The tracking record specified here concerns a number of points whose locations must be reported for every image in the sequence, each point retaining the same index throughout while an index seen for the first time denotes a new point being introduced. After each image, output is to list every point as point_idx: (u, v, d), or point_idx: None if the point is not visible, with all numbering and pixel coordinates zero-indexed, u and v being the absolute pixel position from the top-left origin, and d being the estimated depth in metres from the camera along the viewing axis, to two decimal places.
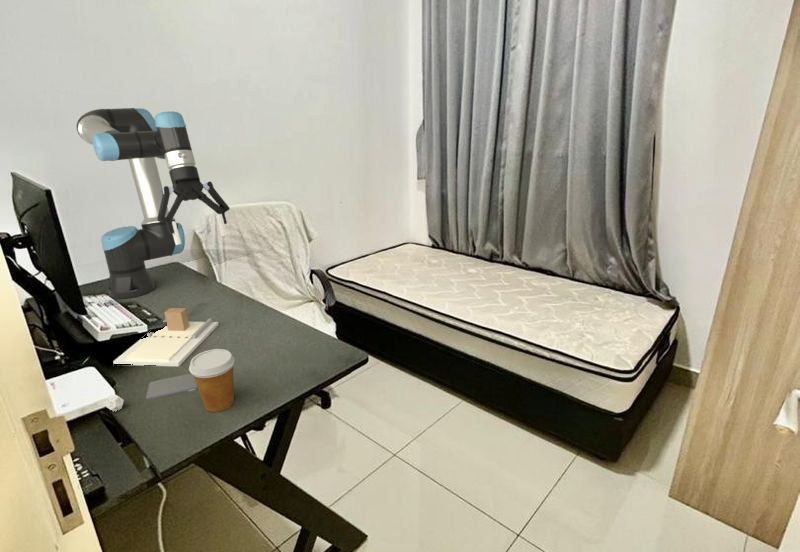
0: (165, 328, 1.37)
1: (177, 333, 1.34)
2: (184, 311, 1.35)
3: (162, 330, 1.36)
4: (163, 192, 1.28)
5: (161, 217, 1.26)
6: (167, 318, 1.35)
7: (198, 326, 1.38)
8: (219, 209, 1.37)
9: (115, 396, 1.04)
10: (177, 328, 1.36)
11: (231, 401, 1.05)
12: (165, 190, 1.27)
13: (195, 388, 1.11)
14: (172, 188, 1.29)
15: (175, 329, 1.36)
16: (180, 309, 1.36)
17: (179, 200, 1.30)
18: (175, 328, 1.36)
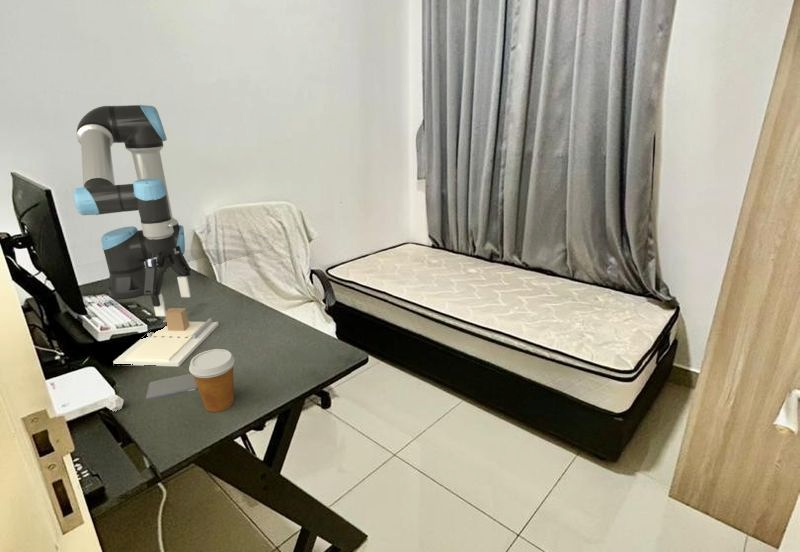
0: (165, 328, 1.37)
1: (177, 333, 1.34)
2: (184, 311, 1.35)
3: (162, 330, 1.36)
4: (149, 265, 1.23)
5: (153, 292, 1.22)
6: (167, 318, 1.35)
7: (198, 326, 1.38)
8: (185, 272, 1.38)
9: (115, 396, 1.04)
10: (177, 328, 1.36)
11: (231, 401, 1.05)
12: (154, 263, 1.23)
13: (195, 388, 1.11)
14: (156, 259, 1.25)
15: (175, 329, 1.36)
16: (180, 309, 1.36)
17: (163, 271, 1.26)
18: (175, 328, 1.36)
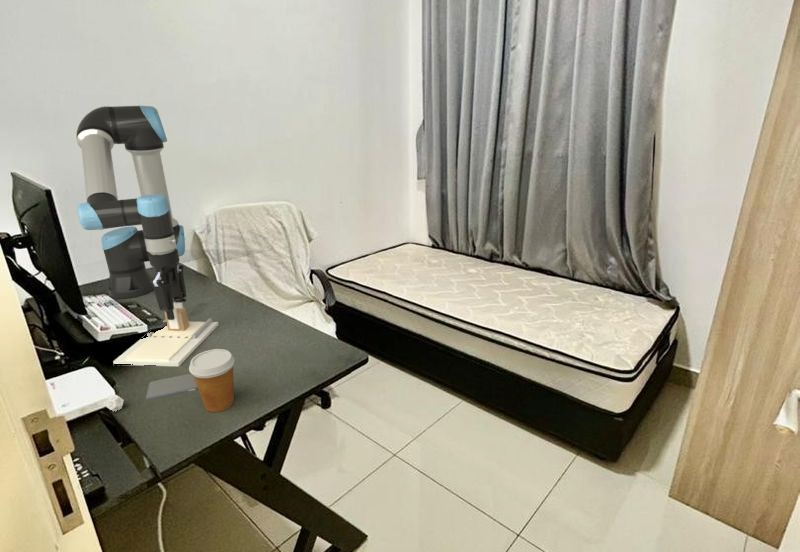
0: (165, 328, 1.37)
1: (177, 333, 1.34)
2: (184, 311, 1.35)
3: (162, 330, 1.36)
4: (156, 285, 1.26)
5: (168, 308, 1.29)
6: None
7: (198, 326, 1.38)
8: (181, 297, 1.36)
9: (115, 396, 1.04)
10: None
11: (231, 401, 1.05)
12: (160, 284, 1.26)
13: (195, 388, 1.11)
14: (160, 277, 1.27)
15: (175, 329, 1.36)
16: (180, 309, 1.36)
17: (170, 286, 1.30)
18: None
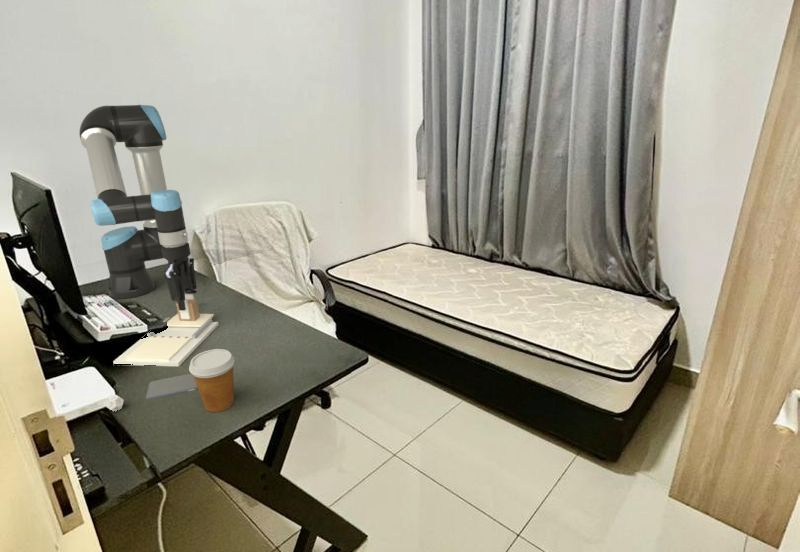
0: (176, 318, 1.43)
1: (188, 323, 1.40)
2: (195, 302, 1.41)
3: (174, 320, 1.42)
4: (168, 277, 1.32)
5: (180, 298, 1.35)
6: (178, 309, 1.41)
7: (208, 317, 1.44)
8: (192, 288, 1.42)
9: (115, 396, 1.04)
10: (188, 319, 1.42)
11: (231, 401, 1.05)
12: (172, 276, 1.32)
13: (195, 388, 1.11)
14: (172, 269, 1.33)
15: (186, 319, 1.42)
16: (191, 300, 1.42)
17: (182, 278, 1.36)
18: None
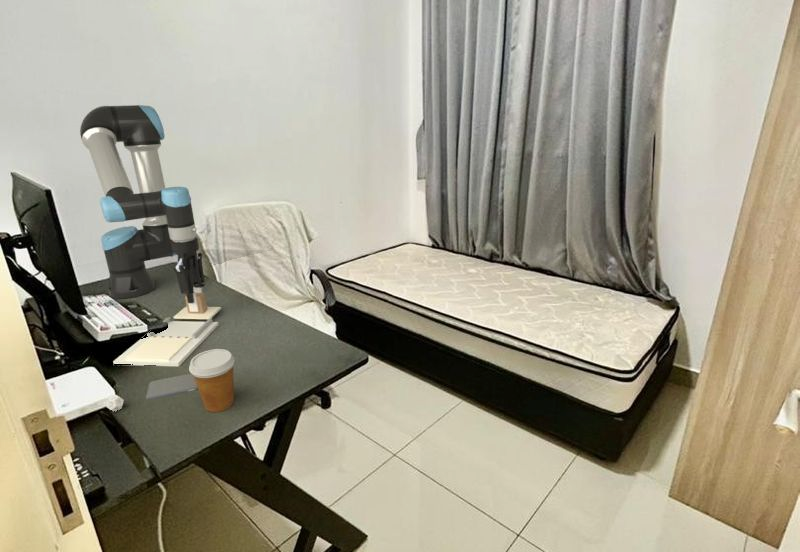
0: (185, 311, 1.48)
1: (196, 315, 1.45)
2: (203, 295, 1.46)
3: (182, 313, 1.47)
4: (178, 270, 1.37)
5: (189, 291, 1.40)
6: (187, 302, 1.45)
7: (215, 309, 1.49)
8: (200, 282, 1.47)
9: (115, 396, 1.04)
10: None
11: (231, 401, 1.05)
12: (182, 269, 1.37)
13: (195, 388, 1.11)
14: (182, 263, 1.38)
15: (194, 312, 1.47)
16: (199, 293, 1.47)
17: (191, 272, 1.41)
18: None
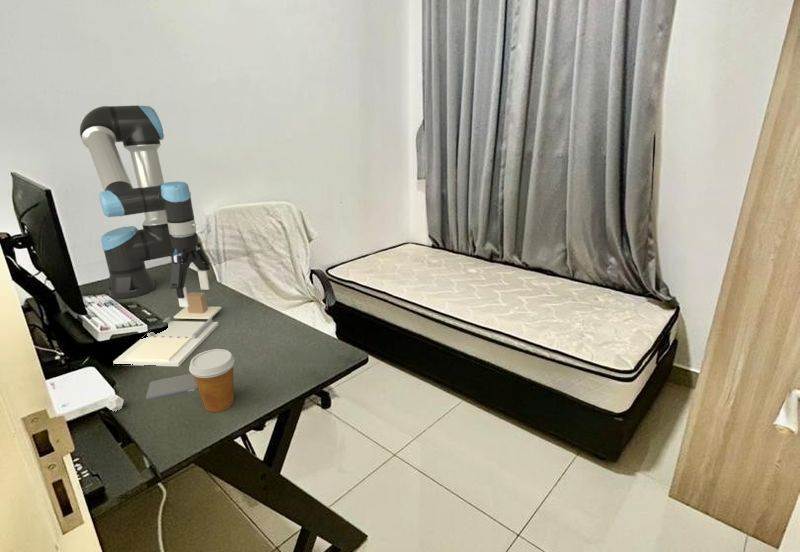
0: (185, 311, 1.48)
1: (197, 315, 1.45)
2: (203, 295, 1.47)
3: (183, 313, 1.47)
4: (175, 261, 1.35)
5: (179, 286, 1.35)
6: None
7: (216, 309, 1.49)
8: (205, 267, 1.50)
9: (115, 396, 1.04)
10: (197, 311, 1.47)
11: (231, 401, 1.05)
12: (179, 259, 1.35)
13: (195, 388, 1.11)
14: (181, 255, 1.37)
15: (195, 312, 1.47)
16: (199, 293, 1.47)
17: (187, 266, 1.39)
18: (195, 311, 1.47)
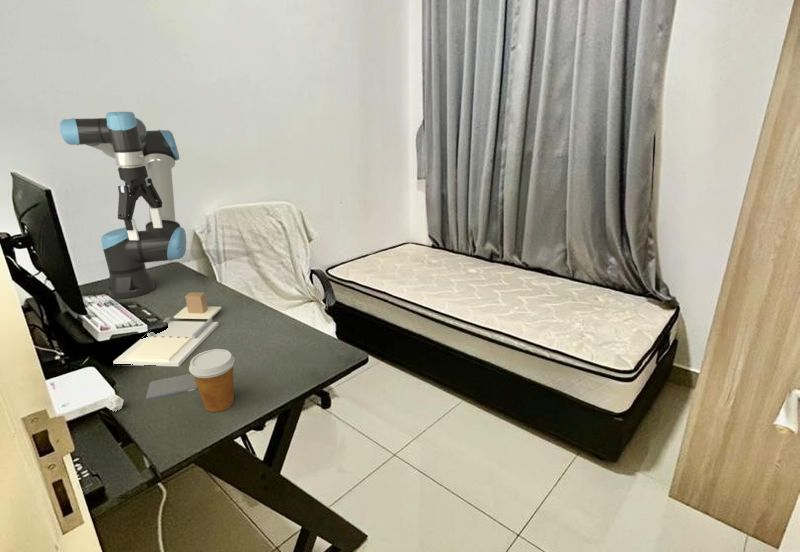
0: (185, 311, 1.48)
1: (197, 315, 1.45)
2: (203, 295, 1.47)
3: (183, 313, 1.47)
4: (122, 191, 1.34)
5: (126, 216, 1.34)
6: (187, 301, 1.46)
7: (216, 309, 1.49)
8: (157, 204, 1.50)
9: (115, 396, 1.04)
10: (197, 311, 1.47)
11: (231, 401, 1.05)
12: (126, 190, 1.34)
13: (195, 388, 1.11)
14: (128, 187, 1.36)
15: (195, 312, 1.47)
16: (199, 293, 1.47)
17: (135, 198, 1.38)
18: (195, 311, 1.47)
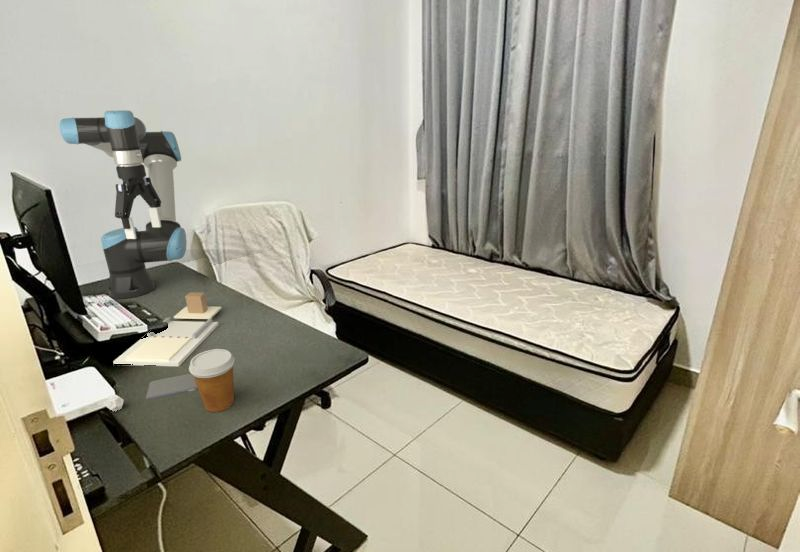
0: (185, 311, 1.48)
1: (197, 315, 1.45)
2: (203, 295, 1.47)
3: (183, 313, 1.47)
4: (119, 189, 1.34)
5: (123, 214, 1.34)
6: (187, 301, 1.46)
7: (216, 309, 1.49)
8: (155, 203, 1.49)
9: (115, 396, 1.04)
10: (197, 311, 1.47)
11: (231, 401, 1.05)
12: (124, 188, 1.34)
13: (195, 388, 1.11)
14: (126, 185, 1.36)
15: (195, 312, 1.47)
16: (199, 293, 1.47)
17: (133, 197, 1.38)
18: (195, 311, 1.47)
